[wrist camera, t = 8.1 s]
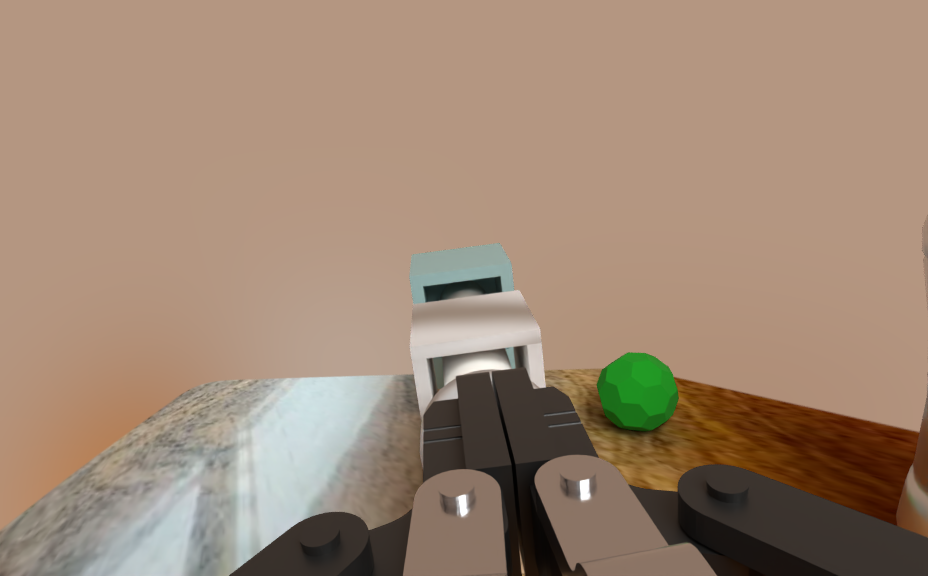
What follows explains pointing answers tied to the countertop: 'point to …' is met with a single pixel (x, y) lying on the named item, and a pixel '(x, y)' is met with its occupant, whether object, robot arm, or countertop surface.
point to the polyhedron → (637, 392)
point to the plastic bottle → (917, 457)
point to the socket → (460, 278)
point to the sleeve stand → (473, 336)
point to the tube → (466, 354)
